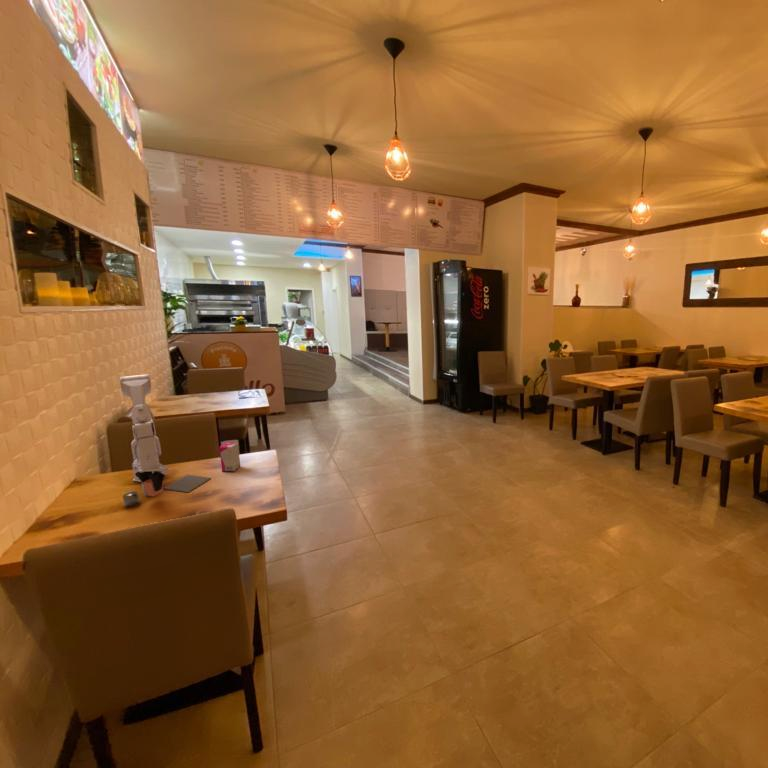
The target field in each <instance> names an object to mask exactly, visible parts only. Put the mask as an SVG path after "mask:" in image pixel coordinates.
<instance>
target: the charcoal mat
mask: <svg viewBox="0 0 768 768" xmlns="http://www.w3.org/2000/svg"><path fill="white" fill-rule="evenodd" d="M211 479H212V478H211V477H207V476H206V477H205V476H199V475H193V474H187V475H184V476H182V477H181V478H179V479H177V480H176V481H174V482H172V483H170V484H168V485H166V486H164V487H163V490H167V491H176V492H180V493H186V494H189V493H190V492H192V491H193V490H195V489H197V488H199V487H200V486H202V485H203V484H205V483H206V482H208V481H210V480H211Z"/></svg>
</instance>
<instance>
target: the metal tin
mask: <svg viewBox="0 0 768 768" xmlns="http://www.w3.org/2000/svg"><path fill="white" fill-rule="evenodd" d="M122 499H123V505H124V507H125V508H133V507H135V506H138V505H139V504H140V499H139V493H138V491H137V490H135V491H134V490H133V491H129V492H126V493H124V494H123V495H122Z"/></svg>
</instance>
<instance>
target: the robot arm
mask: <svg viewBox="0 0 768 768" xmlns="http://www.w3.org/2000/svg"><path fill="white" fill-rule="evenodd" d="M119 384H120V390H121V392H122V395H123V396H124V397H127V398H130V400H131V401H132V406H133V407H132V408H131V411H130V413H131V418H132V425H131V427H132V428H131V430H132V436H133V438H134V439H132V441H131V444H130V445H131V453H132V458H133V462H132V464H131V467H132V471H133V477H134V478H133V479H132V481H133V482H139V483H141V484H142V483H143V482H144V481H146V480H148V479H151V480H152V482H153V485H154V489H155V491H159V490H161V489H162V486H163V481H164V479H165V477H166V476H167V474H168V473H169V472H170V469H169V467H168V466H166V465H163V464H162V463H160V459H159V458H160V457H159V456H161V455H162V447H161V441H160V439H159V437H158V436H157V431H156V427H155V422H154V420H153V417H152V414H151V409H150V407H149V406H148V405H146V396H148V395H149V394H151V391H152V382H151V376H150V374H148V373H146V374H138V375H137V374H135V375H128V376H127V375H126V376H120V377H119Z"/></svg>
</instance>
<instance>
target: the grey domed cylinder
mask: <svg viewBox="0 0 768 768" xmlns="http://www.w3.org/2000/svg"><path fill="white" fill-rule="evenodd" d="M141 488H142V493H143V496H144V497H150V496H149V495H145V491H144V485H143V483H142V482H141Z"/></svg>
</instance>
